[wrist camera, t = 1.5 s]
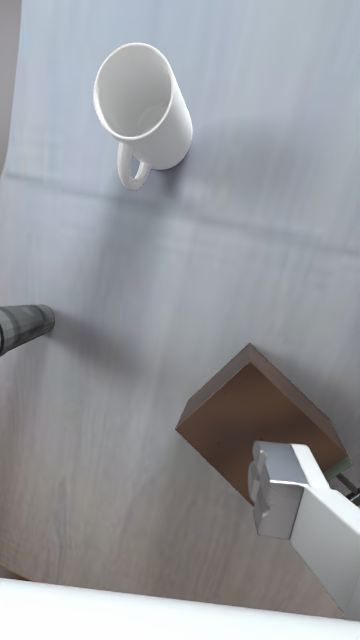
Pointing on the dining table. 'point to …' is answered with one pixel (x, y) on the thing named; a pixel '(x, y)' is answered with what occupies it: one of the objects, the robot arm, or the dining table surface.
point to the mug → (142, 111)
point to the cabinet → (254, 418)
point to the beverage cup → (23, 324)
